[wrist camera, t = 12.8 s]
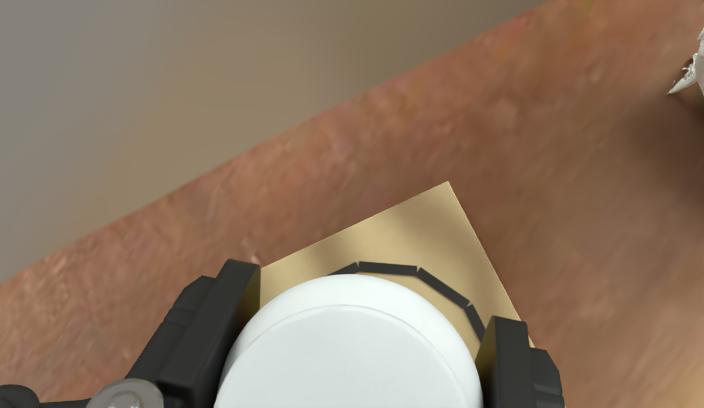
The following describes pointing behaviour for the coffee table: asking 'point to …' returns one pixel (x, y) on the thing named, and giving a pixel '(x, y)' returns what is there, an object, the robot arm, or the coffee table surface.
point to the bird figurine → (693, 70)
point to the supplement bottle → (349, 351)
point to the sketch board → (409, 261)
